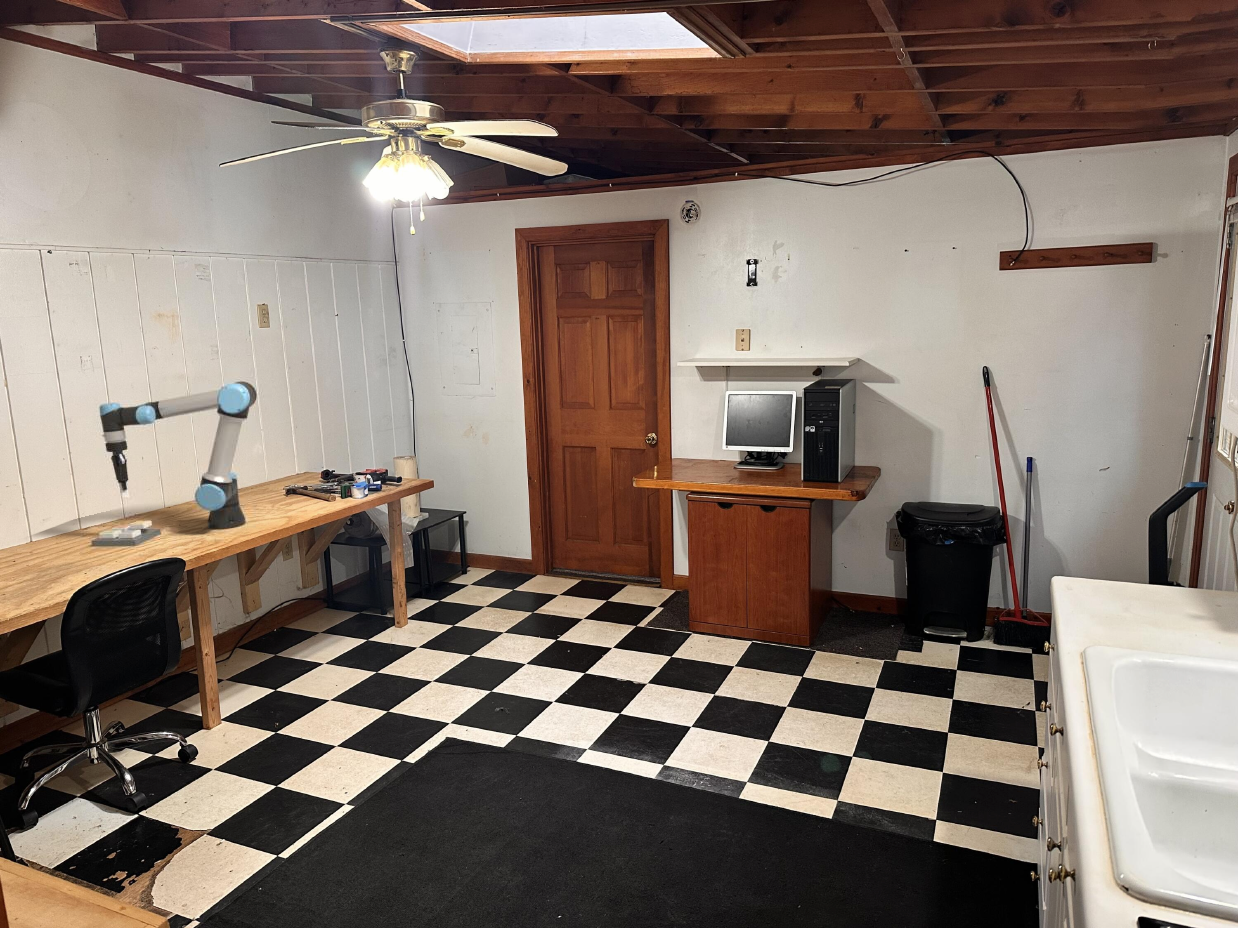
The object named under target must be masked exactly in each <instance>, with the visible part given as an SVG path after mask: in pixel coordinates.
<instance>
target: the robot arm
mask: <svg viewBox="0 0 1238 928" xmlns="http://www.w3.org/2000/svg"><path fill="white" fill-rule="evenodd" d="M257 396H258V394H257V390H256V388H255V387H254V386H253V384H251V383H249V382H248V381H247V382H246V381H244V380H243V381H240V380H239V381H236V382H232V383H227V384H226V385H224V386H221V388H220V389H217V390H216V389H215V390H211V391H205V392H201V393H200V392H199V393H194V394H189V395H184V396H178V397H173V398H168V399H162V400H159V401H158V400H157V401H149V402H145V403H143V404H140V405H137V406H136V405H135V406H128V407H122V405H121V404H120V403H119V402H109V403H103V404H100V405H99V408H98V409H99V417H100V421H101V425H102V427H101V428H102V432H103V434H102V436H101V437H103V438H104V442H105V444H104V445H105V449H106V452H107V453H112V455H111V457H110V459H111V462H112V466H113V471H114V474H115V479H116V481H117V483H118V486H119V492H120V497H121V499H125V498H130V493H129V492H130V491H129V487H128V481H129V474H128V465H127V460H128V459H127V458H126V455H125V454H124V452H123V451H126V450H128V443H127V441H126V439H127V436H126V431H125V427H128V426H140V425H141V426H142V425H143V426H144V425H150V424H154V422H155V421H157V420H163V419H168V418H173V417H178V416H184V415H189V414H194V413H200V412H206V411H211V410H215V409H217V411H216V413H217V415H218V416H219V419H218V423H217V428H216V433H215V436H214V437H215V438H214V442H213V445H212V451H211V455H210V457H209V458H210V459H209V462H208V463H209V464H208V468H207V471H205V473H203V474H202V475H201V479H200V483H199V487H197V489H196V490H195V493H194V499H195V502H196V504H197V505H198V507H200V508H201V509H203V510H205V511H209V515H208V519H207V527H208V528H209V529H214V530H222V529H223V530H225V529H231V528H237V527H240V526H244V525H245V524H246V523H247V521H246V516H245V514H244V512H243V510H242V508H241V506H240V496H239V487H238V479H237V474H236V473H235V472H231V470H232V466H233V462H234V457H235V453H236V449H237V445H238V440H239V436H240V432H241V428H242V423H243V422H244V421H245V420H247V419H248V415H249V413H250V412H249V411H250V408H251V407H252V406H253V405H254V404H255V403H256V401H257V398H258V397H257Z"/></svg>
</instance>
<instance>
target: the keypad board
mask: <svg viewBox="0 0 1238 928" xmlns="http://www.w3.org/2000/svg"><path fill="white" fill-rule="evenodd" d="M134 530H137V529H134ZM161 534H162V532H161V528H146V531H145V532H143V533H141V535H139V536H137V537H134V538H119V537H116V538H110V539H100V538H99V537H96V538H94V539H92V540H91V542H90V543H91V547H137V546H138V545H140V544H143V543H145V542H147V541H149V540H151V539H154V538H155V537H158V536H160V535H161Z"/></svg>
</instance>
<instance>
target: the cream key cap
mask: <svg viewBox="0 0 1238 928" xmlns="http://www.w3.org/2000/svg"><path fill="white" fill-rule="evenodd" d="M129 525H130V529H137V530H141V533H143V532H145V531H146V529H148V528H149V527H151V526H153V523H152V520H136V521H135V522H132V523H129Z"/></svg>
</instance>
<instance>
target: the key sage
mask: <svg viewBox="0 0 1238 928" xmlns="http://www.w3.org/2000/svg"><path fill="white" fill-rule="evenodd" d="M121 532H122V530H111V529H108V530H104V531H103V532H99V533H98V538H100V539H110V538H116V537H118V533H121Z"/></svg>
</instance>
